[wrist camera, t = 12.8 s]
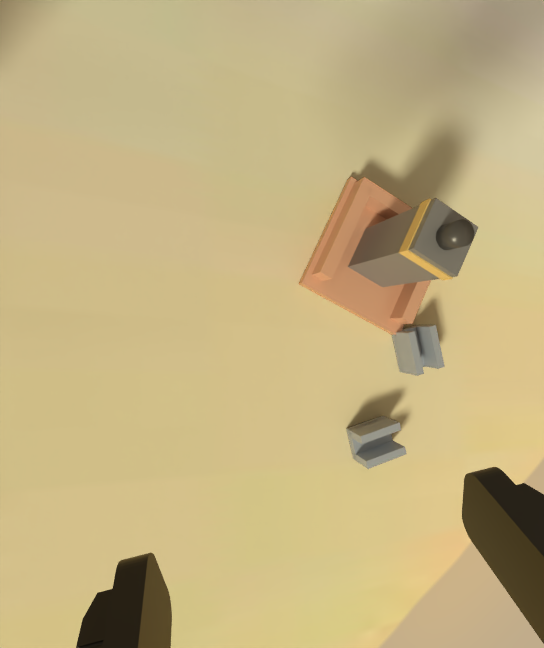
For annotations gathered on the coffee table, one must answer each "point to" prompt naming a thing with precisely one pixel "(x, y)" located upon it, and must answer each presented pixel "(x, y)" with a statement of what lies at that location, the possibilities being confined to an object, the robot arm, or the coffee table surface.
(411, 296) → the holder
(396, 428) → the clip
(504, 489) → the robot arm
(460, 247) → the plug
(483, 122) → the coffee table surface
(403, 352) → the clip
